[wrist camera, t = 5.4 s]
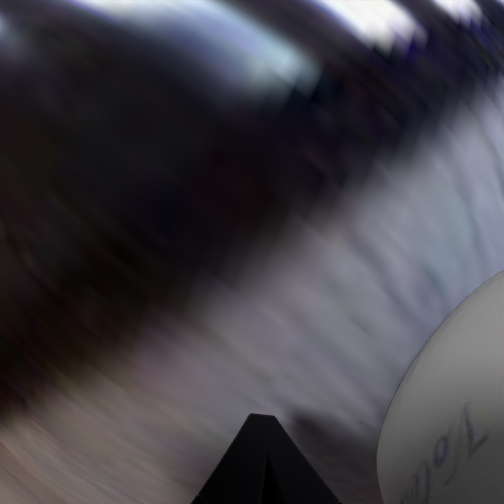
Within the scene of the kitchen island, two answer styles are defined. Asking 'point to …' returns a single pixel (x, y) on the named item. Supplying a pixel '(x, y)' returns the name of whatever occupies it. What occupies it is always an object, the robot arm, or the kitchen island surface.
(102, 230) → the kitchen island surface
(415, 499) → the teacup
